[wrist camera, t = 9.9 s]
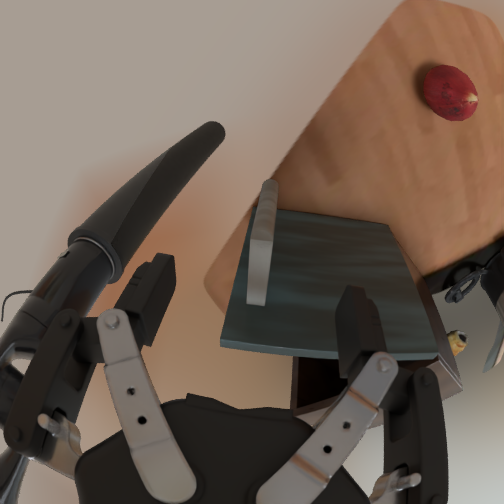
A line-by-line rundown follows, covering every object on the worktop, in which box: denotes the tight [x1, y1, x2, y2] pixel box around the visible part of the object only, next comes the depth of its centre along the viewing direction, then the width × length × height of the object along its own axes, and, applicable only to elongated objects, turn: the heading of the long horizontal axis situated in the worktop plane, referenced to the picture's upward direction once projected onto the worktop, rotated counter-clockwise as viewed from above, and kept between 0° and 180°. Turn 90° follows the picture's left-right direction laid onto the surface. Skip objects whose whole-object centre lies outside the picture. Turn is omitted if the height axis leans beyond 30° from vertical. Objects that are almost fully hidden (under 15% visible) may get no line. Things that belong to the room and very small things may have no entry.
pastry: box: [447, 330, 468, 356], centre depth 44 cm, size 9×7×4 cm
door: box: [220, 179, 439, 360], centre depth 23 cm, size 8×17×19 cm, turn 87°
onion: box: [424, 65, 479, 121], centre depth 17 cm, size 6×6×8 cm
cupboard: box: [290, 239, 463, 429], centre depth 31 cm, size 12×17×19 cm
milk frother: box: [445, 247, 504, 326], centre depth 28 cm, size 14×16×15 cm
